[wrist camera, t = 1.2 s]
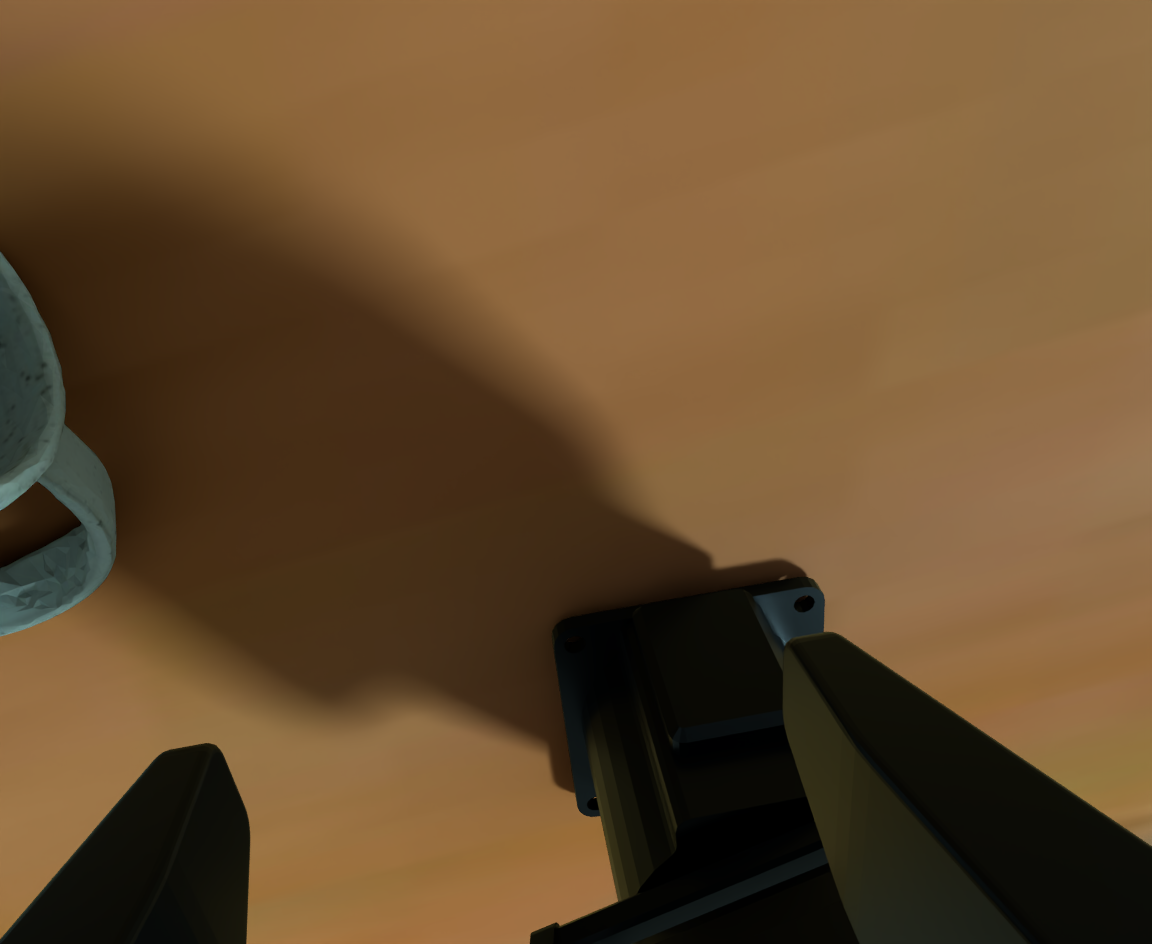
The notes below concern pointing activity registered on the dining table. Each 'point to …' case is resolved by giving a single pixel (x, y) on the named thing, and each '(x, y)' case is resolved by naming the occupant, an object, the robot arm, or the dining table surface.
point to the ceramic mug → (46, 470)
